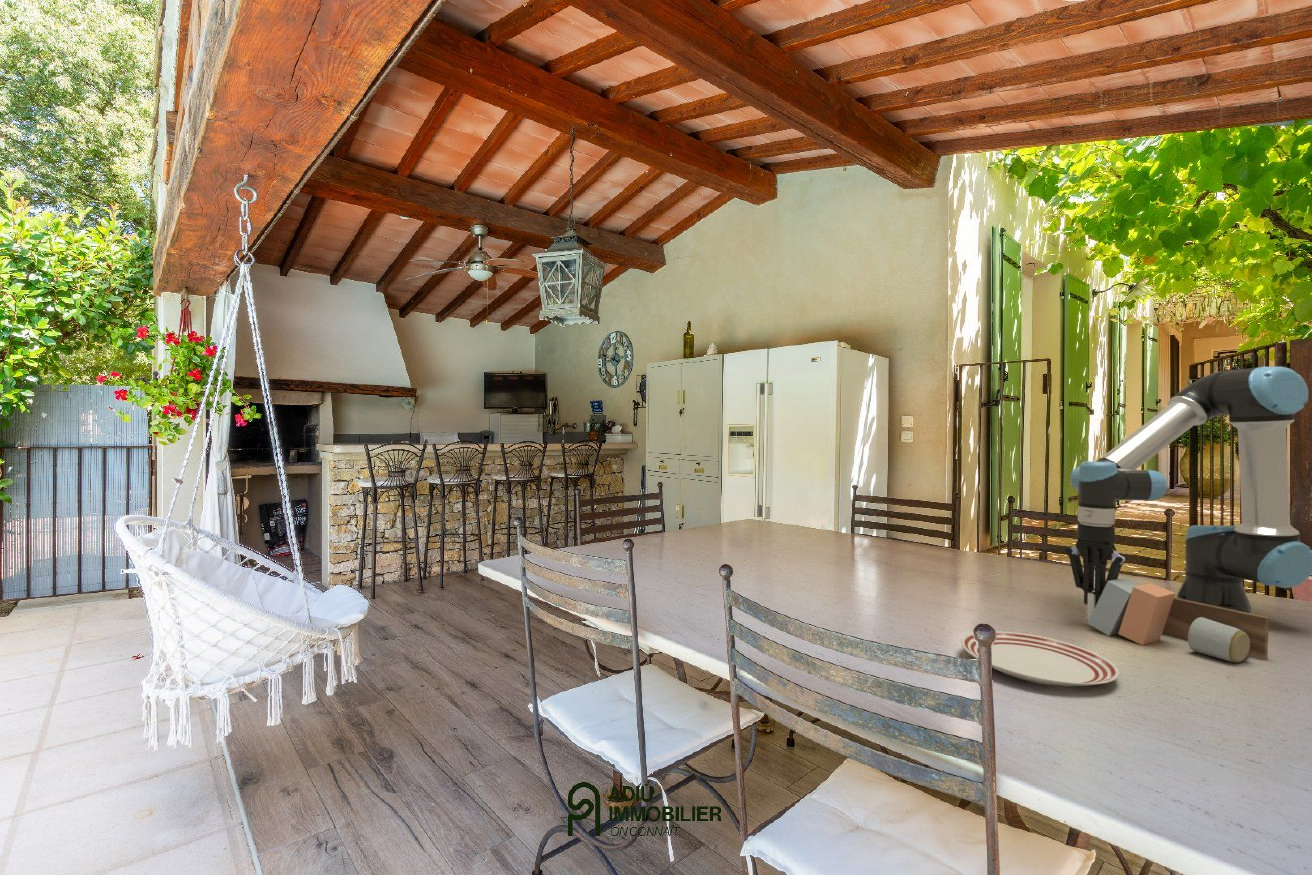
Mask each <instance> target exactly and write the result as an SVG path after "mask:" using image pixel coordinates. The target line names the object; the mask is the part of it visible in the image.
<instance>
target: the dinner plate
mask: <svg viewBox="0 0 1312 875" xmlns="http://www.w3.org/2000/svg"><path fill="white" fill-rule="evenodd" d="M995 631H996V634H997V637H996V642H994V644H993V645H992V667H993V668H992V667H991V668H992V669H994V670H996V671H997V672H1000V673H1002V674H1004V675H1007V676H1010V677H1012V678H1016V679H1018V680H1022V681H1027V682H1030V683H1034V684H1038V685H1045V686H1053V687H1085V686H1086V687H1087V686H1088V687H1089V686H1095V685H1102V684H1104V685H1105V684H1108V683H1111V682H1114V681H1116V680H1117V679H1118V678H1119V677H1120V670H1119V668H1118V667H1117V666H1116V665H1115V664H1114V663H1113V662H1111V660H1108V659H1107V658H1105V657H1103V656H1101V655H1100V654H1098V653H1096V652H1094V651H1091V650H1089V649H1087V648H1083V647H1081V646H1078V645H1076V644H1073V643H1069V642H1065V641H1061V640H1059V639H1054V638H1049V637H1046V636H1040V635H1035V634H1031V633H1030V634H1029V633H1025V632H1024V633H1021V632H1014V631H1013V632H1012V631H1003V630H1002V631H1000V630H999V631H998V630H995ZM973 633H974V632H971V633H970V632H969V634H966V635H964V636H963V637H962V639H961V640H960V644H961V646H962V648H963V649H964V650H965V651H966V653H968V654H969V655H970V656H971V657H973V658H974V659H976V660H977V659H978V658H979V647H978V646H977V644H976V642H975V639H974V637H973Z"/></svg>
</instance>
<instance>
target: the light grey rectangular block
mask: <svg viewBox="0 0 1312 875" xmlns="http://www.w3.org/2000/svg"><path fill="white" fill-rule="evenodd" d="M1140 585H1141V584H1139V583H1138V582H1135V581H1133V580H1132V579H1130V578H1128V577H1121V578H1118V579H1116V580H1111V581H1108V582H1107V584H1106V586H1105V588H1104V590H1103V592H1102V594H1101V596H1100V598H1099V600H1098V602H1097V604H1096V607H1095V609H1094V611H1093V613H1092V615H1091V617H1090V619H1088V621H1087V624H1088V625H1090V626H1091V627H1093V628H1095V629H1096V630H1098V631H1100V632H1102V633H1103V634H1105V635H1107V636H1108V637H1110V636H1113V635H1117V634H1118V633H1119V630H1120V627H1121V624H1122V620H1123V617H1124V614H1125V611H1126V608H1127V605H1128V602H1129V599H1130V595H1131V592H1132V589H1133V587H1135V586H1140ZM1118 635H1119V634H1118Z"/></svg>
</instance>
